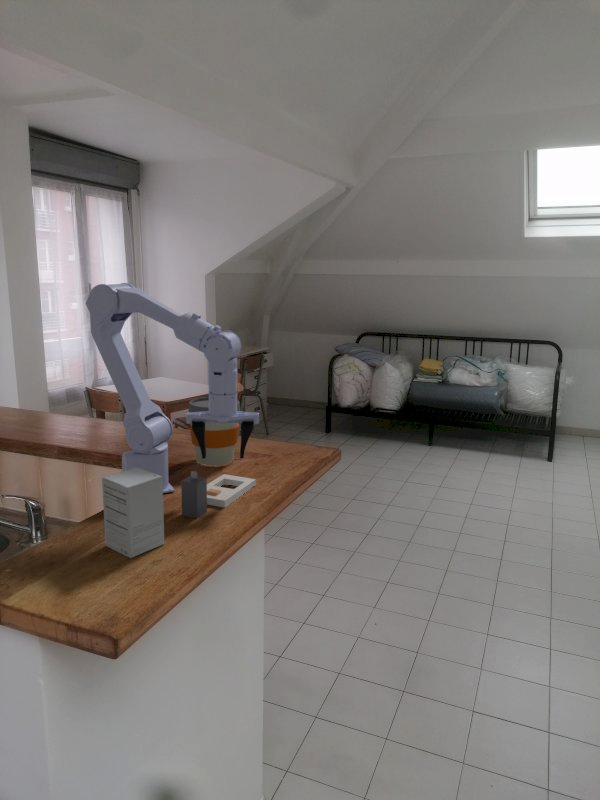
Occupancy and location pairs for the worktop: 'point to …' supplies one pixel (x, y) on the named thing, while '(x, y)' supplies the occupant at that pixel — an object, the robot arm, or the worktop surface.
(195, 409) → the reusable coffee cup
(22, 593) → the worktop surface
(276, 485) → the worktop surface
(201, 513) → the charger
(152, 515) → the supplement box
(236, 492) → the white board with cutouts
